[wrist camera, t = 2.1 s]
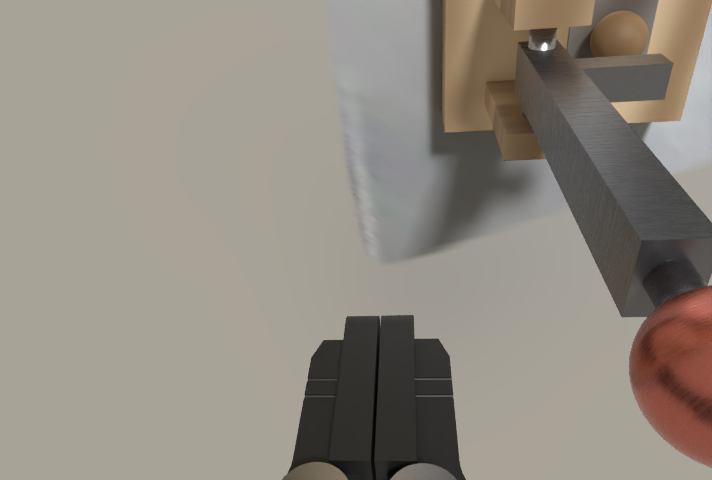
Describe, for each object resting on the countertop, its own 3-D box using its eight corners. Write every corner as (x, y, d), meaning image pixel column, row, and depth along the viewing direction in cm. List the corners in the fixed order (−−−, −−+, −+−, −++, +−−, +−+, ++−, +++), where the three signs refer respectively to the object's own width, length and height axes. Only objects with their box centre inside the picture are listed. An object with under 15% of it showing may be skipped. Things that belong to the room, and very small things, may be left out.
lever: (652, 12, 25) (1225, 373, 8) (633, 101, 27) (1036, 529, 10) (499, 23, 26) (705, 375, 8) (494, 108, 28) (645, 520, 11)
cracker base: (709, -97, 29) (837, -78, 20) (661, 102, 35) (744, 181, 27) (442, -74, 31) (458, -46, 22) (441, 114, 37) (453, 192, 28)
